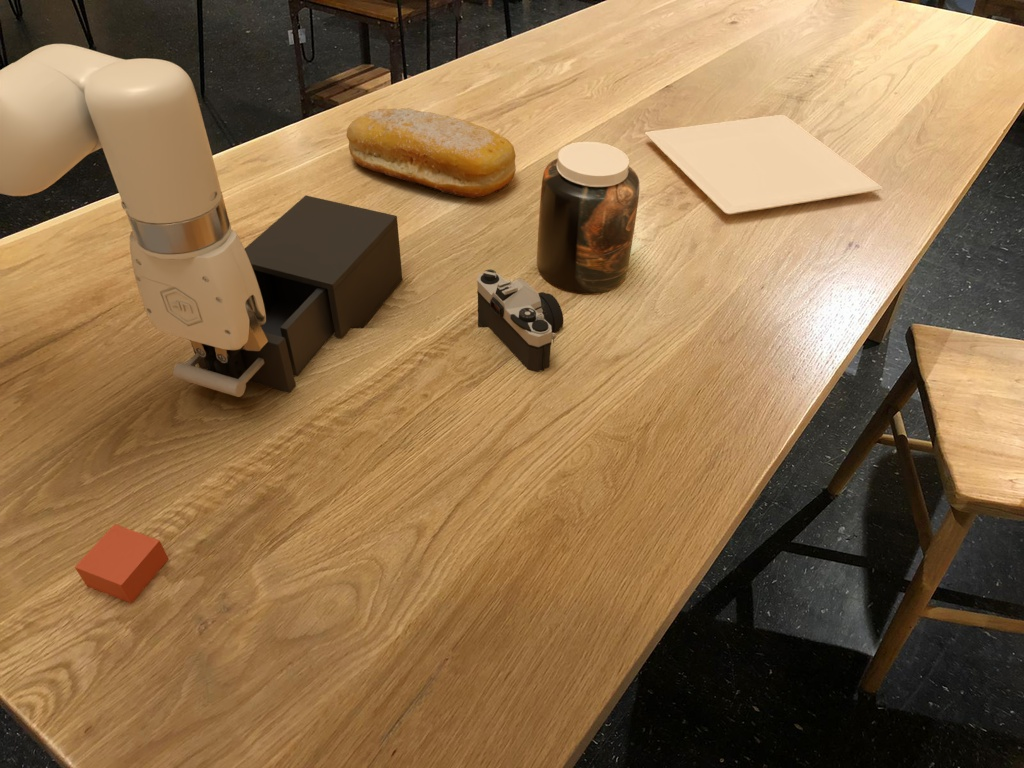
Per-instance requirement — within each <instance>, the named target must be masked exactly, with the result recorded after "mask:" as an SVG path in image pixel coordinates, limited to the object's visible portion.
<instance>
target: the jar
mask: <svg viewBox="0 0 1024 768" xmlns="http://www.w3.org/2000/svg"><path fill="white" fill-rule="evenodd" d="M639 198H640V179H639V176H638V173H636V171H635V170H634V169H633V167H630V159H629V156H628V155H627V153H625V152H624V151H623V150H622V149H619V148H618V147H616V146H613V145H611V144H607V143H604V142H600V141H599V142H598V141H577V142H572V143H568V144H566V145H565V146H562V148H560V149H559V151H558V153H557V158H555V159H553V160H552V161H550V162H549V163H548V164H547V165H546V167H545V169H544V171H543V175H542V179H541V189H540V200H539V202H540V203H539V211H538V212H539V213H538V228H537V244H536V245H537V247H536V248H537V249H536V267H537V270H538V273H539V275H540V276H541V277H542V278H543V279H544V280H545V281H546V282H548V283H549V284H550V285H552V286H553V287H556V288H558V289H560V290H564V291H566V292H569V293H575V294H581V295H594V294H595V295H597V294H602V293H606V292H610V291H612V290H614V289H617V288H618V287H619V286H620V285H622V284H623V282H624V281H625V280H626V278H627V275H628V270H629V265H630V259H631V253H632V246H633V240H634V234H635V226H636V222H637V215H638V214H637V212H638V206H639Z"/></svg>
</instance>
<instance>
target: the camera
mask: <svg viewBox="0 0 1024 768" xmlns="http://www.w3.org/2000/svg"><path fill="white" fill-rule="evenodd" d="M476 290H477V291H476V294H477V328H489V329H490V330H491V332H492V333H493V334H494V335H495V336H496V337H497V338H498V339H499V340H500V341H501V342H502V343H503V344H504V346H506V348H507V349H508V350H509V351H510V352H511V353H512V354H513V355H514V356H515V357H516V358H517V359H518V361H519V362H520V363H521V364H522V365H523V366H524V367H525V368H526V369H527V370H529V371H532V372H534V373H539V372H540V371H542V372H545V369H548V368H550V360H551V346H552V344H553V345H554V344H555V340H556V338H557V334H556V333H558V332H559V331H560V330H561V329H562V328H563V326H564V313H563V310H562V308H561V305H560V303H559V301H558V300H557V298H556V297H555V296H554V295H553V294H551V293H549V292H544V291H540V292H538V291H536V289H535V288H533V286H531V285H530V284H529V283H528V282H527V281H526V280H525V279H524V278H523V279H522V278H521V279H520V278H516V279H515V280H513V281H512V280H510V279H508V280H505V278H503V277H502V276H501V275H500V274H499V273H497V271H496V270H494V269H486V270H484V271H483V273H479V274H477V289H476Z"/></svg>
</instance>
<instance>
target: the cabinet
mask: <svg viewBox="0 0 1024 768" xmlns="http://www.w3.org/2000/svg"><path fill="white" fill-rule="evenodd" d="M398 223H399V222H398V215H394V214H391V213H387V212H386V213H385V212H382V211H376V210H372V209H368V208H364V207H359V206H355V205H350V204H346V203H342V202H337V201H333V200H329V199H324V198H319V197H315V196H311V195H304V196H303V197H302V198H300V200H298V202H296V203H295V204H293V205H292V207H290V208H289V209H288V210H287V211H286V212H285V213H283V214H282V215H281V216H280V217H279V218H278V219H277V220H275V222H272V224H271V225H270V226H269V227H267V228H266V229H265V230H264V231H262V233H261V234H259V235H258V236H257V237H256V238H255V239H253V241H251V242H250V243H249V244H248V245H247V246H246V247H244V249H245V251H246V254H247V256H248V258H249V261H250V263H251V266H252V268H253V270H256V271H259V272H263V273H267V274H271V275H275V276H279V277H283V278H287V279H291V280H294V281H298V282H302V283H306V284H310V285H314V286H318V287H322V288H326V289H327V290H328V296H329V302H330V308H331V313H332V319H333V325H334V331H335V333H334V337H335V339H340V340H343V338H344V337H346V335H347V334H348V333H349V332H350V331H351V330H352V329H364V328H365V327H366V325H368V323H369V322H370V320H371V319H372V318H373V317H374V316H375V315H376V314H377V312H378V311H379V309H381V307H382V306H383V305H384V303H386V301H387V300H388V299H389V297H390V296H391V295H392V294H393V293H394V292H395V290H396V289H397V288H398V287H399V285H400V284H401V283H402V282H403V269H402V258H401V248H400V247H401V246H400V245H401V244H400V234H399V224H398Z"/></svg>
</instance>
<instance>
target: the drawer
mask: <svg viewBox="0 0 1024 768" xmlns="http://www.w3.org/2000/svg"><path fill="white" fill-rule="evenodd" d="M253 271H254V274H255V276H256V279H257V282H258V285H259V288H260V292H261V296H262V299H263V303H264V308H265V314H266V322H265V324H263V325H260V326H261V328H262V330H263V332H264V334H265V336H266V338H267V340H268V343H267V344H266V345H265V346H264V347H263V348H262V349H261V350H260V351H246V350H245V349H242V350H241V351H240V352H241V355H242V359H243V362H244V366H245V369H246V371H245V372H244V374H243V375H242V376H241V377H240V378H239V379H236V378H232V377H229V376H226V375H222V374H219V373H215V372H212V371H209V370H207V367H206V364H205V361H204V359H205V357H201V356H199V355H198V354H197V353H196V352H195V350H194V348H193V345H192V343H191V342H190V344H191V346H192V349H193V353H194V354H193V355H192V356H191V357H190V358H189V359H188V360H187V361H186V362H181V361H180V362H177V363H176V364H175V365H174V367H173V370H172V375H173V377H174V378H175V379H177V380H181V381H183V382H188V383H191V384H194V385H196V386H200V387H202V388H203V387H204V388H208V389H210V390H213V391H216V392H219V393H224V394H226V395H230V396H233V397H236V398H240V397H242V396H243V395H244V393H245V391H246V389H247V383H248V382H250V383H253V384H256V385H261V386H264V387H267V388H270V389H273V390H277V391H281V392H284V393H287V394H290V393H292V392H293V391H294V390H295V388H296V387H297V385H296V380H295V376H296V377H297V376H299V374H300V373H301V372H302V371H304V369H305V368H306V367H307V366H308V364H309V363H310V362H311V361H312V359H313V358H314V357H315V356H316V355H317V354H318V353H319V352H320V350H321V349H322V348H323V347H324V346H325V344H327V342H328V341H329V340H330V339H331V337H332V336H333V335H335V331H334V325H333V319H332V313H331V308H330V302H329V296H328V290H327V289H326V288H322V287H318V286H314V285H310V284H306V283H302V282H298V281H294V280H291V279H287V278H283V277H279V276H275V275H271V274H267V273H263V272H259V271H256V270H253ZM196 365H198V366H196Z"/></svg>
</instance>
